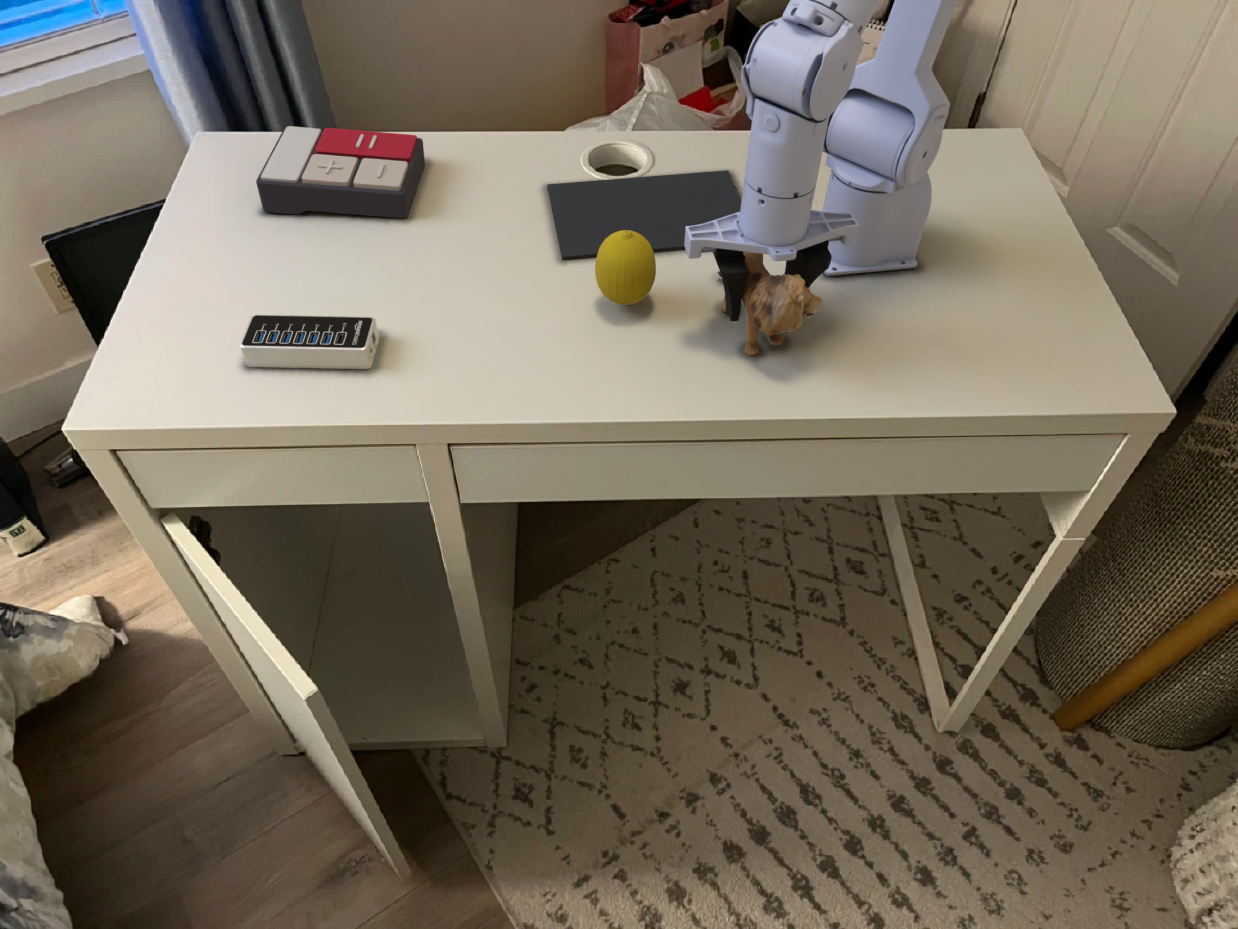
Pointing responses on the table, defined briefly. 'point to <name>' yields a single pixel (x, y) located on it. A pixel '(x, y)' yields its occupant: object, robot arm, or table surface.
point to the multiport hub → (310, 342)
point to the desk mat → (638, 209)
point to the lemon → (625, 267)
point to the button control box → (341, 172)
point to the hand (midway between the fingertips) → (758, 311)
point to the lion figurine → (773, 302)
